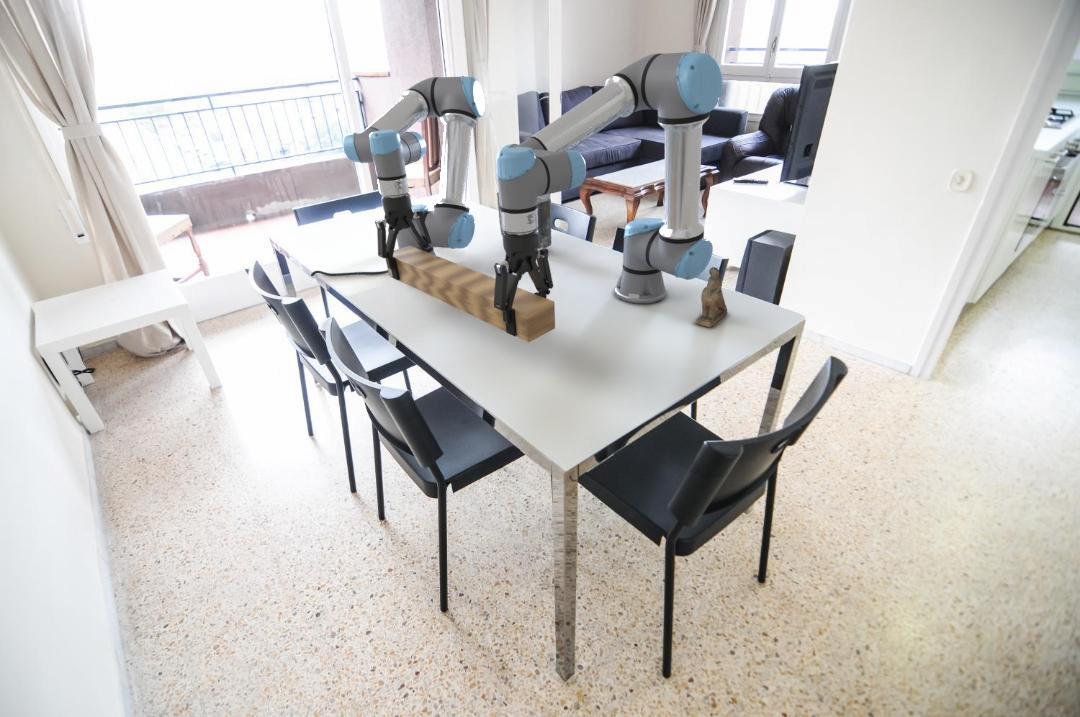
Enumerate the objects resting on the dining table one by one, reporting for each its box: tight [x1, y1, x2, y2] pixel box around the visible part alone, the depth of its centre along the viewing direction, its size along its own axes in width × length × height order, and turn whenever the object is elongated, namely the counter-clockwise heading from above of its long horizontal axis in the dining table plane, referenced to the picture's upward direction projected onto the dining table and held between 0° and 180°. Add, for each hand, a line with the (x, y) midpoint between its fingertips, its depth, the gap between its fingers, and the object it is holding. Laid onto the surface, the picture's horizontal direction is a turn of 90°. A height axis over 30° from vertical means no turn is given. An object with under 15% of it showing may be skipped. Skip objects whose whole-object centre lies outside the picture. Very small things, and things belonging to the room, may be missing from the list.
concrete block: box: [496, 191, 552, 249], centre depth 192 cm, size 27×9×20 cm, turn 36°
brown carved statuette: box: [695, 266, 728, 328], centre depth 135 cm, size 12×6×18 cm, turn 136°
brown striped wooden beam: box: [384, 246, 556, 344], centre depth 127 cm, size 59×9×7 cm, turn 45°
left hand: (410, 273), depth 144 cm, fingers closed on brown striped wooden beam, 9 cm apart
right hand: (526, 326), depth 114 cm, fingers closed on brown striped wooden beam, 9 cm apart
